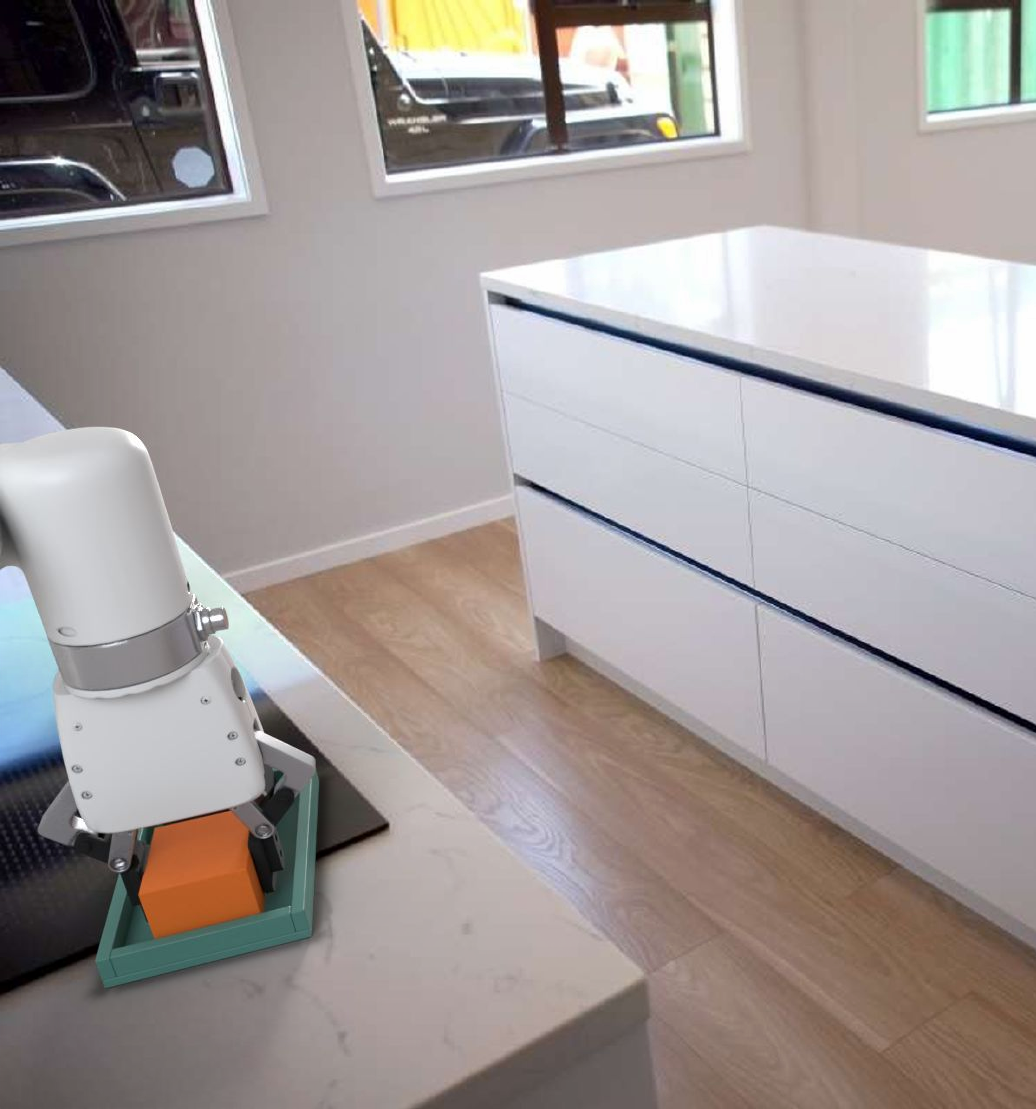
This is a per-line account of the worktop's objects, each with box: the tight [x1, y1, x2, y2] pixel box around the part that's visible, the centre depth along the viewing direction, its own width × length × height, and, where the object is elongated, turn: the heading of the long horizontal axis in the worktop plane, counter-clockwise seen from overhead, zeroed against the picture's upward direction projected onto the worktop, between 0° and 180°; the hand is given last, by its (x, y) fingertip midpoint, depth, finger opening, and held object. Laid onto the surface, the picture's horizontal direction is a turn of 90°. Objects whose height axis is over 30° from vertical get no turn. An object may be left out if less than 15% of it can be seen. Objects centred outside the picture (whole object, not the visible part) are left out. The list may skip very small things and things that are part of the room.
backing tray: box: [94, 766, 320, 989], centre depth 84 cm, size 12×18×2 cm, turn 19°
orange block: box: [139, 811, 266, 939], centre depth 79 cm, size 6×7×4 cm
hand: (213, 891), depth 80 cm, fingers closed on orange block, 6 cm apart
